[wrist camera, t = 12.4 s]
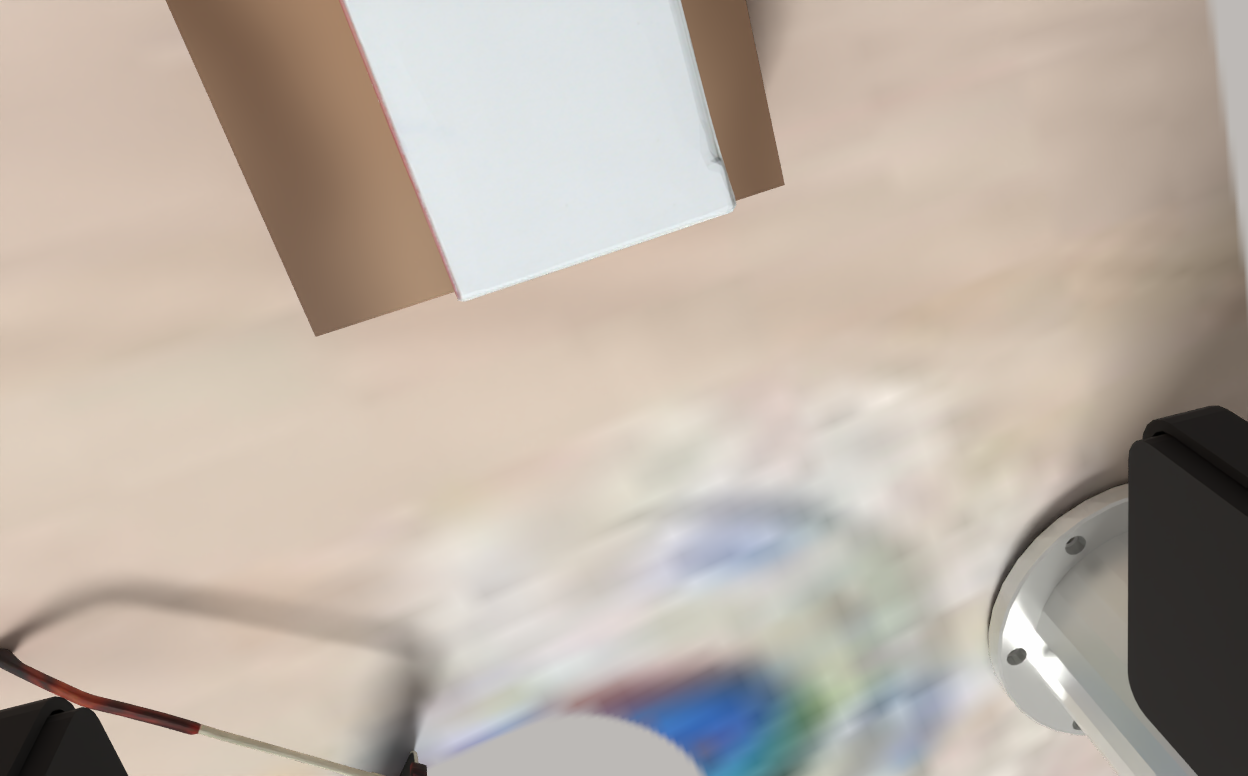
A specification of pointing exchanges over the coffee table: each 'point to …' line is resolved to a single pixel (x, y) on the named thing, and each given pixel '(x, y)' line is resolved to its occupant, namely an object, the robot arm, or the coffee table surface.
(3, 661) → the sunglasses
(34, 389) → the coffee table surface
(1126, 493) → the robot arm
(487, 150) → the small box
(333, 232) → the walnut block
